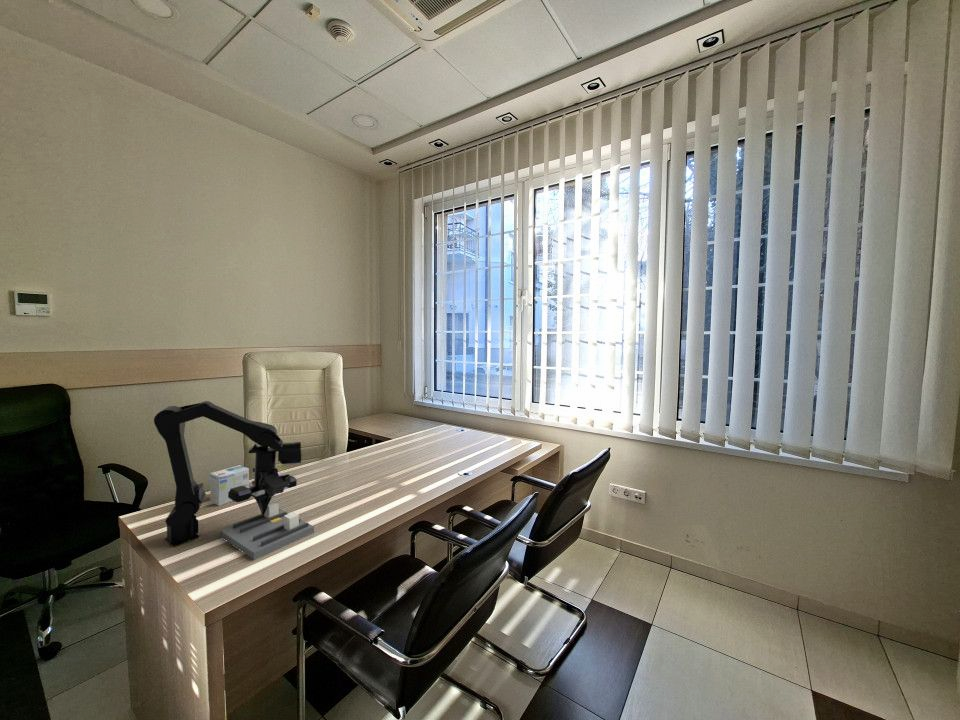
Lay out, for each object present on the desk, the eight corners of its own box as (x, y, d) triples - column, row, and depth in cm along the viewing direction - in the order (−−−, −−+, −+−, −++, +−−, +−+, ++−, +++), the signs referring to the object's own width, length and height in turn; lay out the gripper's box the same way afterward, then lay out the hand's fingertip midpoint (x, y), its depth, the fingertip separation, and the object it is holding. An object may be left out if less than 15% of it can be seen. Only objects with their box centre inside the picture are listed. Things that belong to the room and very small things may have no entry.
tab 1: (269, 519, 122) (269, 507, 121) (264, 516, 123) (264, 504, 123) (278, 515, 124) (278, 503, 124) (273, 513, 126) (273, 501, 125)
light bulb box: (240, 491, 146) (240, 464, 145) (249, 496, 143) (249, 468, 142) (209, 501, 137) (208, 472, 136) (218, 506, 134) (218, 476, 133)
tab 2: (289, 531, 115) (289, 518, 114) (283, 528, 116) (283, 515, 116) (298, 527, 117) (298, 514, 117) (293, 524, 119) (293, 512, 119)
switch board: (254, 559, 104) (254, 549, 104) (219, 536, 115) (219, 526, 114) (313, 532, 119) (314, 523, 119) (278, 514, 130) (278, 505, 130)
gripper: (246, 478, 108) (244, 532, 109) (307, 464, 124) (305, 511, 125) (228, 470, 115) (226, 521, 115) (288, 457, 130) (286, 502, 131)
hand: (263, 513), depth 121 cm, fingers closed
